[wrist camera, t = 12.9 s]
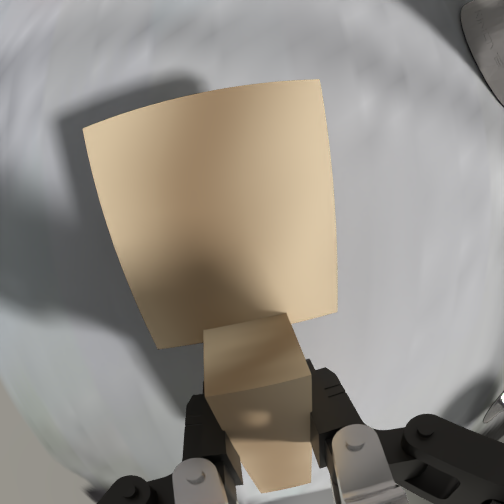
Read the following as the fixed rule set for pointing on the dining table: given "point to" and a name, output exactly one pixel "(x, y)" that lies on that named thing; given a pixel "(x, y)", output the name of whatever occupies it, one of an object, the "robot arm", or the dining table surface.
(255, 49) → the dining table surface
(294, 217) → the turner
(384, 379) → the dining table surface
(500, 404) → the wine glass
